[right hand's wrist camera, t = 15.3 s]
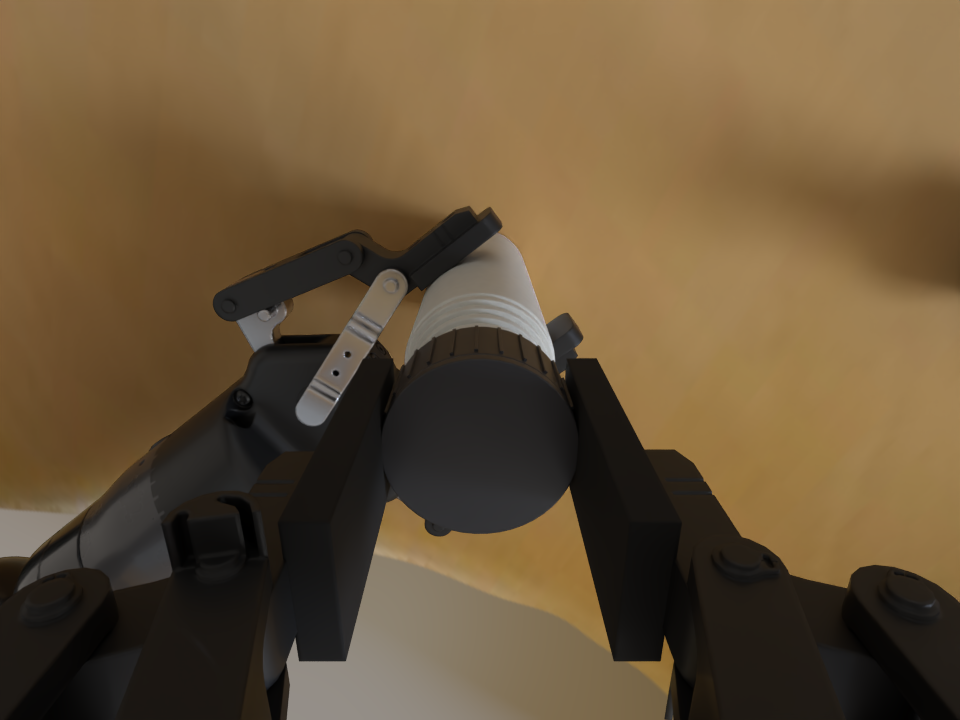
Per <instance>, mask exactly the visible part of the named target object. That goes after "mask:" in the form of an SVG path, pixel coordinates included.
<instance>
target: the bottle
mask: <svg viewBox="0 0 960 720" xmlns="http://www.w3.org/2000/svg"><path fill="white" fill-rule="evenodd" d="M475 325H478V327H492V328H497V327H500V328H501V329H503V330H507V331H510V332H513V333H515V334H518V335H519V334H521V335H522V337H524V338H526V339H527V340H529V341H531V342H532V343H533V344H535V345H536V346H537V345H539V346H540V347H541V350H542V351H543V352H544V353H545V354H546V355H547V356H548V357H549V358H550V360H551V361H552V360H554V361H555V354H554V348H553V344H552V341H551V338H550V335H549V332H548V329H547V326H546V323H545V321H544V318H543V315H542V312H541V309H540V306H539V303H538V300H537V298H536V295H535V292H534V289H533V286H532V283H531V280H530V278H529V275H528V272H527V269H526V266H525V263H524V260H523V258H522V255H521V253H520V252H519V250H518V249H517V247H516V246H515V245H514V244H513V243H512V242H511V241H510V240H509V239H508V238H506V237H505V236H503V235H501V234H500V233H496V234H495V235H494V236H492V237H491V238H490V239H489V240H487V241H486V242H485V243H483V244H482V245H481V246H479V247H478V248H477V249H476V250H474V251H473V252H472V253H470V254H469V255H468V256H466V257H465V258H464V259H463V260H461V261H460V262H459V263H457V264H456V265H455V266H454V267H452V268H451V269H450V270H448V271H447V272H445V273H444V274H442V275H441V276H440V277H439V278H438V279H436V280H435V281H434V282H433V283H431V284H430V285H429V286H428V287H427V289H426V291H425V294H424V297H423V300H422V303H421V306H420V309H419V311H418V314H417V317H416V320H415V323H414V326H413V329H412V332H411V334H410V337H409V340H408V343H407V347H406V352H405V365H406V363H407V362H408V361H409V359H410V358H411V357H412V356H413V355H414V351H415V350H416V349H418V350H419V349H420V348H421V347H422V346H424V345H425V344H426V343H428V342H429V341H431V340H432V338H433V337H434V336H435V337H438V336H440V335H442V334H445V333H447V332H450V331H452V329H455V328H456V330H457V329H461V328H468V327H475Z"/></svg>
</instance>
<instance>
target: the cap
mask: <svg viewBox="0 0 960 720" xmlns="http://www.w3.org/2000/svg"><path fill="white" fill-rule="evenodd" d="M573 409H575V408H574V406H573V403H572V400H571V397H570V394H569V391H568V388H567V385H566V383H565V380H564V377H563V378H561V377H560V374H559V372H558V370H557V367H556V364H555V361H554V360H552V361H551V360H550V358H549V357H548V356H547V355H546V354H545V353H544V352H543V351H542V350H541V347H540V346H539V345H537V346H536V345H535V344H533V343H532V342H531V341H529V340H527V339H526V338H524V337H522V335H521V334H519V335H518V334H515V333H513V332H510V331H507V330H503V329H501V328H500V327H497V328H492V327H478V325H475V327H468V328H461V329H457V330H456V328H455V329H452V331H450V332H447V333H445V334H442V335H440V336H438V337H435V336H434V337H433V338H432V340H431V341H429V342H428V343H426V344H425V345H424V346H422V347H421V348H420V349H419V350H418V349H416V350H415V351H414V355H413V356H412V357H411V358H410V359H409V361H408V362H407V363H406V365H402V367H401V370H400V373H399V376H398V379H397V382H396V383H394V385H393V388H392V390H391V393H390V396H389V399H388V402H387V405H386V408H385V411H384V414H383V415H385V419H384V422H383V426H382V430H381V444H382V458H383V470H384V472H385V475H386V477H387V480H388V482H389V483H390V485H391V487H392V489H393V490H394V492H395V493H396V494H397V496H398V497H399V498H400V500H401V501H402V502H403V503H404V504H405V505H406V506H407V507H408V508H410V509H411V510H412V511H413V512H415V513H416V514H417V515H419V516H420V517H422V518H424V519H425V520H427V521H429V522H431V523H433V524H435V525H437V526H440V527H443V528H446V529H449V530H453V531H458V532H462V533H472V534H488V533H497V532H502V531H507V530H511V529H514V528H517V527H520V526H522V525H525V524H527V523H529V522H531V521H533V520H535V519H536V518H538V517H539V516H541V515H542V514H544V513H545V512H546V511H548V510H549V509H550V508H551V507H552V506H553V505H554V504H555V503H556V502H557V501H558V500H559V499H560V498H561V497H562V495H563V494H564V493H565V491H566V490H567V488H568V486H569V485H570V483H571V481H572V479H573V477H574V474H575V471H576V466H577V453H578V438H579V431H578V427H577V423H576V420H575V417H574V414H573V411H572V410H573Z"/></svg>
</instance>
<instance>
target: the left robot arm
mask: <svg viewBox="0 0 960 720" xmlns="http://www.w3.org/2000/svg"><path fill="white" fill-rule="evenodd" d="M501 228H502V223H501V221H500V219H499V218H498V217H497V215H496V214H495V213H494V211H493V210H492V209H491V207H489V208H487V209H485V210H484V211H483V212H481V213H480V214H479V215H476V214H475V212H474V211H473V210H472V208H471V207H470V206H467V207H464V208H460V209H457V210H455V211H454V212H452V213H451V214H450V215H449V216H447V217H446V218H445V219H444V220H442V221H441V222H440V223H439V224H437V225H436V226H435V227H434V228H432V229H431V230H430V231H429V232H427V233H426V234H425V235H424V236H422V237H421V238H420V239H419V240H417V241H416V242H415V243H414V244H412V245H411V246H410V247H409V248H407V249H405V250H403V251H398V252H394V251H390V250H387V249H385V248H384V247H382V246H380V245H379V244H377V243H375V242H374V241H373V240H372V238H371V236H370V235H369V234H368V233H366V232H365V231H362V230H353V231H350V232H348V233H346V234H343V235H341V236H339V237H336V238H334V239H332V240H329V241H327V242H325V243H322V244H320V245H317V246H315V247H313V248H310V249H308V250H306V251H303V252H301V253H299V254H296V255H294V256H292V257H289V258H287V259H285V260H282V261H280V262H278V263H275V264H273V265H271V266H268V267H266V268H264V269H261V270H259V271H256V272H254V273H252V274H249V275H247V276H245V277H243V278H242V279H240V280H238V281H236V282H235V283H233V284H231V285H230V286H228V287H226V288H225V289H223V290H222V291H220V292H218V293H217V294H216V295H215V297H214V299H213V307H214V310H215V312H216V313H217V315H218V316H219V317H221V318H222V319H224V320H226V321H236V322H237V324H238V325H239V327H240V329H241V330H242V332H243V334H244V336H245V337H246V339H247V341H248V342H249V344H250V346H251V347H252V349H253V351H254V354H253V355H252V356H251V358H250V360H249V363H248V367H247V370H246V372H245V374H244V376H243V377H242V378H241V379H239V380H238V381H237V382H236V383H234V384H233V385H232V386H231V387H229V388H228V389H227V390H226V391H224V392H223V393H222V394H221V395H219V396H218V397H217V398H216V399H214V400H213V401H212V402H211V403H209V404H208V405H207V406H206V407H204V408H203V409H202V410H201V411H199V412H198V413H197V414H196V415H194V416H193V417H192V418H191V419H189V420H188V421H187V422H185V423H184V424H183V425H182V426H180V427H179V428H178V429H177V430H176V431H174V432H173V433H172V434H170V435H168V436H166V437H164V438H163V439H161V440H159V441H158V442H157V443H155V444H154V445H153V446H152V447H151V449H150V450H149V452H148V453H147V454H145V455H144V456H143V457H142V458H140V459H139V460H138V461H137V462H135V463H134V464H133V465H132V466H131V467H129V468H128V469H127V470H126V471H125V472H124V473H123V474H122V475H121V476H120V477H119V478H118V479H117V480H116V481H115V482H114V484H113V485H112V486H111V487H110V488H109V489H108V491H107V492H106V493H105V494H104V495H103V496H102V497H100V498H99V499H98V500H97V501H95V502H94V503H93V504H92V505H90V506H89V507H88V508H87V509H85V510H84V511H83V512H82V513H80V514H79V515H78V516H77V517H75V518H74V519H73V520H72V521H70V522H69V523H68V524H66V525H65V526H64V527H63V528H62V529H61V530H59V531H58V532H57V533H55V534H54V535H53V536H52V537H51V538H49V539H48V540H47V541H46V542H44V543H43V544H42V545H41V546H40V547H39V548H38V549H37V550H36V551H35V552H34V553H33V554H32V556H31V557H30V558H29V557H2V558H0V606H1V605H2V604H3V603H4V602H5V601H6V600H7V599H9V598H10V597H11V596H13V595H14V594H15V593H16V592H18V591H19V590H20V589H22V588H23V587H25V586H27V585H29V584H31V583H33V582H35V581H37V580H39V579H41V578H42V577H44V576H48V575H50V574H53V573H57V572H60V571H63V570H67V569H76V568H85V567H86V568H92V569H97V570H101V571H102V572H103V573H104V574H106V575H107V576H108V577H109V579H110V583H111V586H112V589H113V591H114V590H119V589H123V588H128V587H132V586H137V585H141V584H146V583H150V582H155V581H158V580H162V579H165V578H168V577H170V576H171V573H172V567H171V563H170V559H169V554H168V550H167V546H166V542H165V538H164V534H163V530H162V526H161V523H162V522H163V520H164V519H165V518H166V516H167V515H168V514H169V513H170V512H171V511H172V510H174V509H175V508H177V507H178V506H180V505H181V504H183V503H184V502H186V501H189V500H191V499H193V498H196V497H198V496H201V495H204V494H209V493H213V492H218V491H241V492H244V493H249V491H250V490H251V488H252V487H253V485H254V484H256V480H257V479H258V477H259V476H260V474H261V473H262V471H263V470H264V468H265V467H266V465H267V464H268V463H270V462H271V461H273V460H274V459H275V458H277V457H278V456H280V455H281V454H282V453H284V452H285V451H315V450H316V448H317V446H318V444H319V442H320V440H321V438H322V436H323V434H324V432H325V430H326V429H327V427H328V425H329V423H330V421H331V419H332V417H333V415H334V413H335V411H336V409H337V407H338V406H339V404H340V402H341V400H342V398H343V396H344V394H345V392H346V390H347V388H348V386H349V384H350V383H351V381H352V379H353V377H354V375H355V373H356V371H357V369H358V367H359V365H360V363H361V361H362V360H363V358H391V356H390V355H389V353H388V351H387V350H386V349H385V348H384V346H383V345H382V344H381V343H380V342H379V341H378V340H377V339H378V337H379V335H380V334H381V332H382V330H383V329H384V327H385V326H386V324H387V322H388V321H389V319H390V318H391V316H392V315H393V313H394V312H395V310H396V309H397V307H398V305H399V304H400V302H401V301H402V299H403V298H404V296H405V295H407V294H408V293H409V292H411V291H412V290H413V289H414V288H416V287H417V286H418V287H419V289H420V290H421V291H422V290H424V289H425V288H426V287H428V286H429V285H430V284H431V283H433V282H434V281H435V280H436V279H438V278H439V277H440V276H441V275H442V274H444V273H445V272H447V271H448V270H450V269H451V268H452V267H454V266H455V265H456V264H457V263H459V262H460V261H461V260H463V259H464V258H465V257H466V256H468V255H469V254H470V253H472V252H473V251H474V250H476V249H477V248H478V247H479V246H481V245H482V244H483V243H485V242H486V241H487V240H489V239H490V238H491V237H492V236H494V235H495V234H496V233H497V232H498V231H499V230H500V229H501ZM349 274H350V275H351V276H353V277H355V278H356V279H358V280H360V281H361V282H363V283H365V284H366V285H368V286H370V288H369V290H368V292H367V293H366V295H365V297H364V298H363V300H362V301H361V303H360V305H359V306H358V308H357V309H356V311H355V313H354V314H353V316H352V317H351V319H350V320H349V322H348V323H347V325H346V327H345V328H344V330H343V331H342V333H341V334H319V335H282V336H281V334H280V330H279V327H280V323H281V322H282V321H283V320H284V319H285V318H286V317H287V316H288V315H289V314H290V313H291V312H292V310H293V300H292V298H293V297H296V296H298V295H300V294H303V293H305V292H308V291H310V290H312V289H315V288H317V287H320V286H322V285H324V284H327V283H329V282H332V281H334V280H337V279H339V278H341V277H344V276H346V275H349ZM546 326H547V329H548V332H549V335H550V338H551V341H552V344H553V348H554V354H555V364H556V367H557V370H558V372H559V374H560V373H561V372H563V371H564V370H566V358H576V357H577V356H578V355H577V353H576V351H575V347H576V346H578V345H579V344H580V343H581V341H582V340H583V335H582V333H581V331H580V329H579V327H578V326H577V324H576V323H575V322H574V320H573V319H572V318H571V316H570V315H569V314H568V313H564V314H561V315H560V316H558V317H556V318H555V319H554V320H552V321H551V322H549V323H548V324H547V325H546ZM393 364H394V362H393ZM399 373H400V370H398V369H397V368H396V366H395V364H394V381H395V383H396V382H397V379H398V376H399ZM396 498H397V499H399V500H400V498H399V497H398V496H397V494H396V493H395V492H394V490H393V489H392V487H391V485H390V489H389V493H388V497H387V501H386V502H389V501H392V500H394V499H396ZM425 528H426V530H427V531H428V533H430V534H431V535H434V536H445V535H447V534H448V533H449V532H450V531H451V530H449V529H446V528H443V527H440V526H437V525H435V524H433V523H431V522H429V521H427V520H425Z"/></svg>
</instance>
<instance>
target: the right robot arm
mask: <svg viewBox="0 0 960 720" xmlns="http://www.w3.org/2000/svg"><path fill="white" fill-rule="evenodd" d="M394 383H395V381H394V364H393V358H363V360H362V361H361V363H360V365H359V367H358V369H357V371H356V373H355V375H354V377H353V379H352V381H351V383H350V384H349V386H348V388H347V390H346V392H345V394H344V396H343V398H342V400H341V402H340V404H339V406H338V407H337V409H336V411H335V413H334V415H333V417H332V419H331V421H330V423H329V425H328V427H327V429H326V430H325V432H324V434H323V436H322V438H321V440H320V442H319V444H318V446H317V448H316V450H315V451H285V452H284V453H282V454H281V455H280V456H278V457H277V458H275V459H274V460H273V461H271V462H270V463H268V464H267V465H266V467H265V468H264V470H263V471H262V473H261V474H260V476H259V477H258V479H257V480H256V484H254V485H253V487H252V488H251V490H250V491H249V493H244V492H241V491H218V492H213V493H209V494H204V495H201V496H198V497H196V498H193V499H191V500H189V501H186V502H184V503H183V504H181V505H180V506H178V507H177V508H175V509H174V510H172V511H171V512H170V513H169V514H168V515H167V516H166V518H165V519H164V520H163V522H162V523H161V526H162V530H163V534H164V538H165V542H166V546H167V550H168V554H169V559H170V563H171V567H172V573H171V576H170V577H168V578H165V579H162V580H158V581H155V582H150V583H146V584H141V585H137V586H132V587H128V588H123V589H119V590H114V591H113V589H112V586H111V583H110V579H109V577H108V576H107V575H106V574H104V573H103V572H102V571H101V570H97V569H92V568H86V567H85V568H76V569H67V570H63V571H60V572H57V573H53V574H50V575H48V576H44V577H42V578H41V579H39V580H37V581H35V582H33V583H31V584H29V585H27V586H25V587H23V588H22V589H20V590H19V591H18V592H16V593H15V594H14V595H13V596H11V597H10V598H9V599H7V600H6V601H5V602H4V603H3V604H2V605H1V606H0V720H286V719H287V709H288V698H289V687H290V683H289V677H288V670H287V664H286V661H287V658H288V655H289V653H290V650H291V647H292V644H293V642H294V639H295V638H296V644H297V651H298V657H299V661H346V658H347V654H348V650H349V646H350V642H351V638H352V635H353V631H354V626H355V623H356V619H357V615H358V611H359V607H360V603H361V599H362V595H363V591H364V588H365V583H366V580H367V576H368V572H369V568H370V564H371V560H372V556H373V552H374V548H375V544H376V540H377V536H378V533H379V529H380V525H381V521H382V517H383V513H384V509H385V505H386V501H387V497H388V493H389V489H390V483H389V482H388V480H387V477H386V475H385V472H384V470H383V458H382V444H381V430H382V426H383V422H384V419H385V415H383V414H384V411H385V408H386V405H387V402H388V399H389V396H390V393H391V390H392V388H393V385H394ZM565 383H566V385H567V388H568V391H569V394H570V397H571V400H572V403H573V406H574V408H575V409H573V410H572V411H573V414H574V417H575V420H576V423H577V427H578V431H579V438H578V453H577V466H576V471H575V474H574V477H573V479H572V481H571V483H570V485H569V487H570V491H571V495H572V498H573V502H574V506H575V510H576V514H577V518H578V522H579V526H580V530H581V534H582V538H583V542H584V546H585V550H586V553H587V557H588V561H589V565H590V569H591V573H592V577H593V581H594V585H595V589H596V593H597V597H598V601H599V605H600V609H601V612H602V616H603V620H604V624H605V628H606V632H607V636H608V640H609V644H610V648H611V652H612V656H613V659H614V661H661V655H662V649H663V642H664V636H665V637H666V640H667V643H668V645H669V648H670V651H671V654H672V656H673V659H674V664H673V670H672V676H671V682H670V688H669V694H668V700H667V706H666V713H665V719H666V720H672V717H673V718H674V720H960V603H959V602H958V601H957V600H956V599H955V598H954V597H953V596H951V595H950V594H949V593H947V592H946V591H945V590H943V589H942V588H941V587H939V586H938V585H937V584H935V583H933V582H931V581H929V580H927V579H925V578H923V577H921V576H919V575H917V574H914V573H912V572H909V571H905V570H902V569H899V568H895V567H888V566H880V565H872V566H866V567H860V568H859V569H858V570H856V571H855V572H854V573H853V574H852V575H851V578H850V581H849V585H848V588H843V587H838V586H834V585H829V584H825V583H820V582H816V581H811V580H807V579H803V578H800V577H796V576H793V575H790V574H789V572H788V570H787V568H786V567H785V565H784V564H783V562H782V561H781V559H780V558H779V557H778V556H776V555H775V554H774V553H773V552H771V551H770V550H769V549H767V548H766V547H764V546H762V545H760V544H758V543H756V542H754V541H752V540H750V539H746V538H742V537H741V536H740V534H739V532H738V531H737V529H736V528H735V526H734V525H733V523H732V522H731V520H730V519H729V517H728V516H727V514H726V512H725V511H724V509H723V508H722V506H721V505H720V503H719V502H718V500H717V499H716V497H715V496H714V495H712V491H711V489H710V488H709V486H708V485H707V483H706V482H704V480H703V477H702V476H701V474H700V472H699V471H698V469H697V468H696V466H695V465H694V463H693V462H691V461H690V460H688V459H687V458H686V457H684V456H683V455H681V454H680V453H679V452H677V451H676V450H644V448H643V446H642V445H641V443H640V441H639V439H638V437H637V435H636V433H635V431H634V429H633V427H632V425H631V423H630V422H629V420H628V418H627V416H626V414H625V412H624V410H623V408H622V406H621V404H620V402H619V400H618V399H617V397H616V395H615V393H614V391H613V389H612V387H611V385H610V383H609V381H608V379H607V377H606V376H605V374H604V372H603V370H602V368H601V366H600V364H599V362H598V360H597V358H566V375H565Z"/></svg>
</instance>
